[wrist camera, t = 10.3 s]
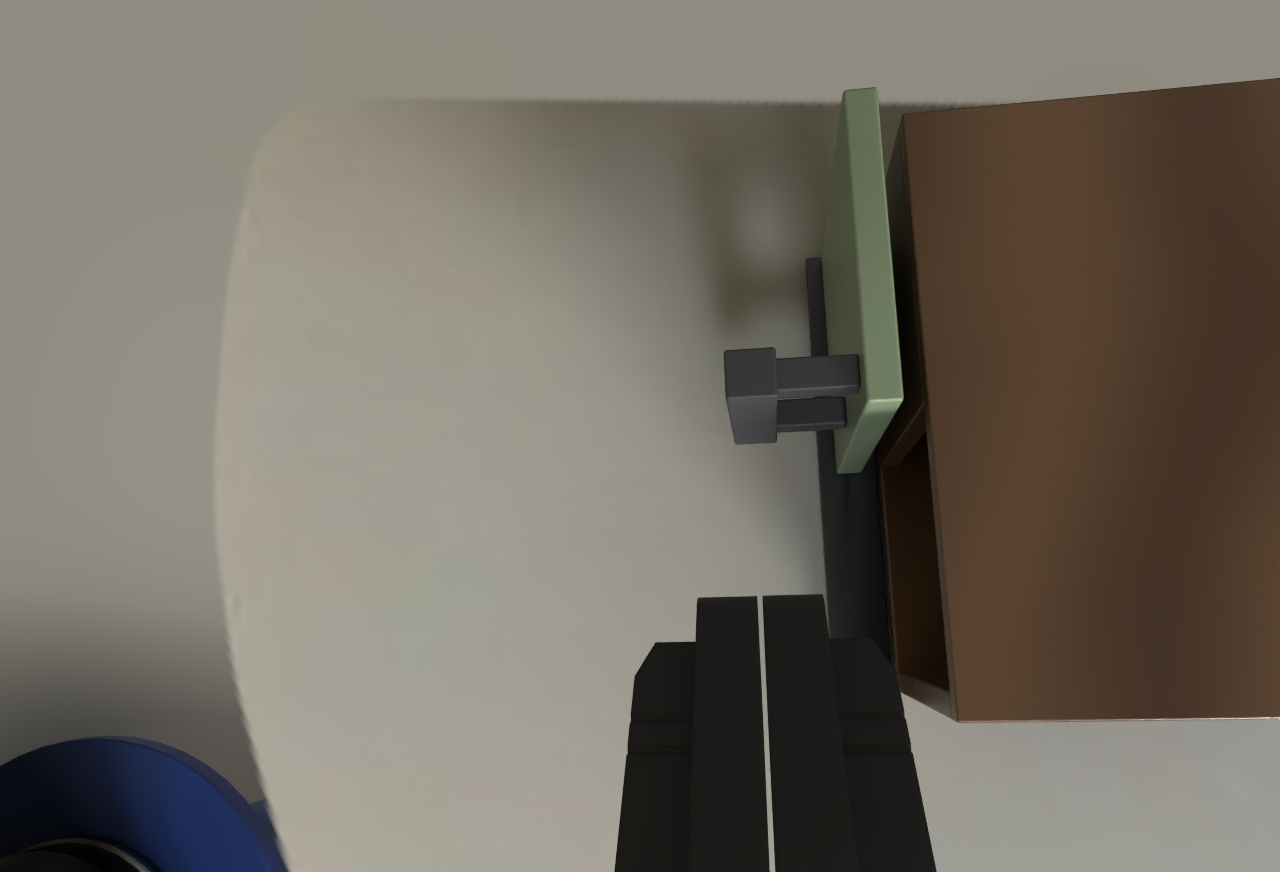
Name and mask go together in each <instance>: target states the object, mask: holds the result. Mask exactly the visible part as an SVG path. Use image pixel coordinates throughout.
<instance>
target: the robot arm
mask: <svg viewBox="0 0 1280 872" xmlns="http://www.w3.org/2000/svg"><path fill="white" fill-rule="evenodd" d="M763 619H764V642H765V665H766V687H767V709H768V730H769V750H770V771H771V791H772V812H773V832H774V853H775V872H936V867H935V862H934V857H933V852H932V847H931V842H930V837H929V832H928V827H927V822H926V817H925V812H924V807H923V802H922V797H921V792H920V787H919V782H918V777H917V772H916V767H915V762H914V757H913V753H912V752H911V743H910V738H909V733H908V728H907V723H906V719H905V717H904V708H903V703H902V698H901V693H900V688H899V683H898V678H897V673H896V671H895V669H894V668H893V667H892V665H891V664H890V663H889V661H888V660H887V659H886V657H885V656H884V655H883V653H882V652H881V651H880V649H879V648H878V647H877V645H876V644H875V643H874V641H873V640H872V639H871V638H847V639H829V634H828V627H827V619H826V611H825V603H824V598H823V595H822V594H814V595H774V596H763ZM0 872H161V871H160V870H159V869H158V867H157V866H156V865H155V864H154V863H152V862H151V861H150V860H149V859H148V858H147V857H146V856H144V855H143V854H141V853H140V852H138V851H137V850H135V849H134V848H132V847H130V846H128V845H126V844H124V843H121V842H119V841H116V840H113V839H109V838H105V837H101V836H93V835H74V836H66V837H61V838H57V839H53V840H50V841H47V842H43V843H40V844H37V845H34V846H31V847H29V848H26V849H24V850H22V851H20V852H18V853H16V854H14V855H10V856H7V857H4V858H0ZM615 872H770V870H769V847H768V824H767V801H766V778H765V755H764V732H763V709H762V688H761V667H760V646H759V625H758V605H757V596H746V597H706V598H698V600H697V618H696V642H658V643H655V644H654V646H653V647H652V649H651V651H650V652H649V654H648V656H647V657H646V659H645V660H644V662H643V664H642V665H641V667H640V669H639V670H638V672H637V673H636V675H635V679H634V689H633V698H632V708H631V722H630V727H629V737H628V755H627V756H626V766H625V776H624V785H623V795H622V805H621V814H620V824H619V834H618V844H617V853H616V863H615Z"/></svg>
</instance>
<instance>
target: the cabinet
mask: <svg viewBox="0 0 1280 872" xmlns="http://www.w3.org/2000/svg"><path fill="white" fill-rule="evenodd" d="M885 185H886V197H887V209H888V220H889V232H890V244H891V255H892V267H893V279H894V290H895V302H896V314H897V325H898V337H899V349H900V360H901V372H902V384H903V395H904V398H903V401H902V403H901V404H900V406H899V408H898V410H897V411H896V413H895V415H894V416H893V418H892V420H891V422H890V423H889V425H888V427H887V428H886V430H885V432H884V434H883V435H882V437H881V439H880V440H879V442H878V444H877V455H878V468H879V480H880V493H881V506H882V518H883V531H884V544H885V556H886V569H887V582H888V594H889V607H890V620H891V632H892V645H893V658H894V669H895V671H896V673H897V678H898V683H899V688H900V692H901V693H903V694H905V695H907V696H909V697H911V698H913V699H914V700H916V701H918V702H920V703H922V704H924V705H926V706H928V707H930V708H932V709H934V710H936V711H938V712H939V713H941V714H943V715H945V716H947V717H949V718H951V719H953V720H954V721H956V722H958V723H1006V722H1082V721H1159V720H1235V719H1280V78H1276V79H1265V80H1255V81H1244V82H1234V83H1223V84H1213V85H1202V86H1192V87H1181V88H1171V89H1161V90H1150V91H1139V92H1129V93H1118V94H1107V95H1098V96H1087V97H1076V98H1065V99H1055V100H1044V101H1034V102H1023V103H1013V104H1002V105H992V106H981V107H971V108H960V109H950V110H939V111H929V112H918V113H908V114H903V115H902V117H901V121H900V125H899V129H898V133H897V137H896V141H895V144H894V148H893V152H892V156H891V160H890V164H889V168H888V172H887V176H886V180H885ZM806 274H807V289H808V305H809V320H810V335H811V350H812V357H813V356H828V342H827V328H826V313H825V299H824V285H823V270H822V257H821V258H808V259H806ZM819 397H831V396H817V397H815V398H819ZM817 441H818V456H819V471H820V487H821V502H822V517H823V532H824V547H825V562H826V578H827V593H828V608H829V623H830V638H831V639H847V638H871V639H872V640H873V641H874V643H875V644H876V645H877V647H878V648H879V649H880V651H881V652H882V653H883V655H884V656H885V657H886V659H887V660H888V661H889V663H890V664H891V652H890V639H889V627H888V614H887V601H886V588H885V575H884V563H883V550H882V537H881V524H880V512H879V499H878V486H877V473H876V461H875V449H874V451H873V453H872V454H871V456H870V458H869V459H868V461H867V463H866V465H865V466H864V468H863V470H862V471H861V472H860V473H845V474H839V473H837V471H836V457H835V443H834V430H818V431H817Z"/></svg>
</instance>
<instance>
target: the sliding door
mask: <svg viewBox="0 0 1280 872" xmlns="http://www.w3.org/2000/svg"><path fill="white" fill-rule="evenodd" d="M821 256H822V270H823V285H824V299H825V313H826V328H827V342H828V356H813V357H797V358H782V359H776V350H775V348H773V347H769V348H754V349H739V350H726V351H724V371H725V392H726V401H727V406H728V411H729V416H730V421H731V426H732V431H733V436H734V441H735V444H737V445H738V444H757V443H775V442H776V441H777V433H780V432H799V431H818V430H834V443H835V457H836V471H837V473H839V474H845V473H860V472H861V471H862V470H863V468H864V466H865V465H866V463H867V461H868V459H869V458H870V456H871V454H872V453H873V451H874V449H875V447H876V446H877V444H878V442H879V440H880V439H881V437H882V435H883V434H884V432H885V430H886V428H887V427H888V425H889V423H890V422H891V420H892V418H893V416H894V415H895V413H896V411H897V410H898V408H899V406H900V404H901V403H902V401H903V398H904V395H903V384H902V372H901V360H900V349H899V337H898V325H897V314H896V302H895V290H894V279H893V267H892V255H891V244H890V232H889V220H888V209H887V197H886V185H885V174H884V162H883V150H882V139H881V127H880V115H879V104H878V93H877V89H876V88H874V87H873V88H863V89H853V90H846V91H844V92H843V96H842V104H841V111H840V119H839V126H838V134H837V141H836V149H835V156H834V164H833V171H832V179H831V186H830V194H829V201H828V209H827V216H826V224H825V231H824V239H823V246H822V254H821ZM817 396H831V397H819V398H802V399H784V400H778V399H782V398H800V397H817Z"/></svg>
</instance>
